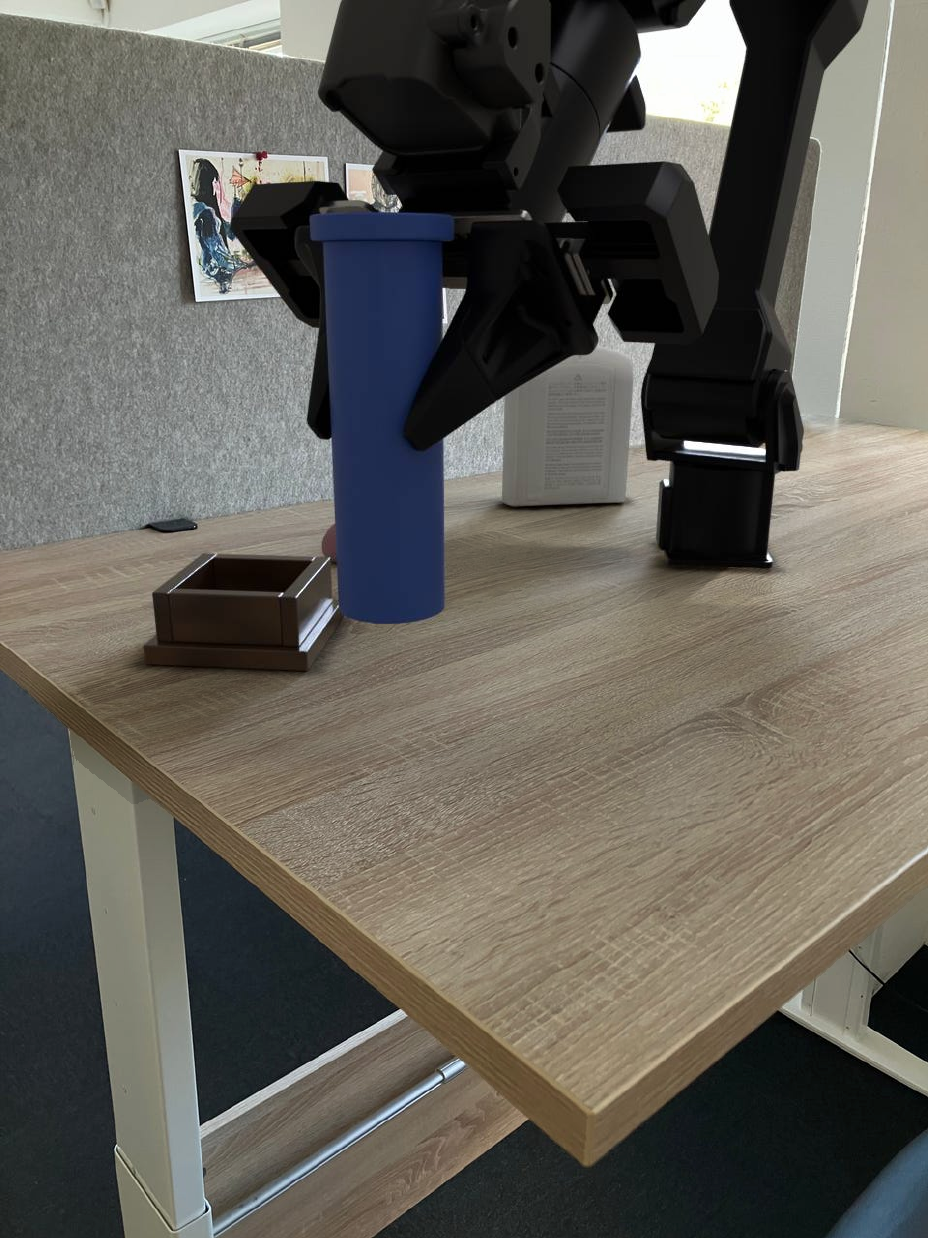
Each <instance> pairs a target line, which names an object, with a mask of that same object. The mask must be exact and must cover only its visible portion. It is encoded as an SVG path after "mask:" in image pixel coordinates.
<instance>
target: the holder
mask: <svg viewBox="0 0 928 1238" xmlns="http://www.w3.org/2000/svg"><path fill="white" fill-rule="evenodd" d="M331 563H332V561H331V560H330V557H325V556H308V555H307V556H303V555H302V556H301V555H271V554H240V553H239V554H237V553H236V554H235V553H203V552H202V554H200V555H199V556H198V557H196V558H195V559H193V561H191V562H190V563H188V564H187V565H186V566H185V567H183V568H182V569H181V570H179V571H178V572H177V573H176V574H174V575H173V576H172V577H170V578H169V579H168V580H166V581H165V582H164V583H163V584H161V585H160V586H159V587H157V588H156V589H155V590H154V591H152V592H151V596H152V597H151V598H152V607H153V615H154V616H153V617H154V624H155V635H153V636H152V637H151V638H150V639H149V640H148V641H147V642H146V643H144V644H143V647H142V648H143V657H144V664H145V665H154V666H177V667H179V666H180V667H200V668H201V667H204V668H227V669H251V670H252V669H253V670H274V671H275V670H276V671H278V670H279V671H300V672H301V671H302V672H307V671H309V669H310V668H311V666H312V665H313V663H314V662H315V660H316V659H317V657H319V654H320V653H321V652H322V650H323V649H324V647H325V645H326V644H327V642H328V641H329V640H330V638H331V636H332V635H333V633H334V632H335V630H336V629H337V627H338V626H339V624H340V623H341V622H342V620H343V619H344V617H345V616H344V615H343V614H342V613H341V612H340V610H339V602H338V598H336V599H335V598H333V585H332V583H333V582H332V564H331Z"/></svg>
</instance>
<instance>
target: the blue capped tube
mask: <svg viewBox="0 0 928 1238" xmlns="http://www.w3.org/2000/svg"><path fill="white" fill-rule="evenodd" d="M310 236H311V240H313V241H323V256H324V279H325V302H326V325H327V348H328V371H329V395H330V418H331V438H330V440H331V457H332V458H331V461H332V484H333V505H334V506H333V507H334V508H333V509H334V524H335V533H336V556H337V562H336V577H337V578H336V579H337V597H338V598H337V599H338V602H339V610H340V612H341V613H342V614H343V615H344V617H346V618H348V619H351V620H354V621H357V622H361V623H362V622H363V623H368V624H375V625H401V624H402V625H403V624H410V623H417V622H421V621H425V620H429V619H431V618H433V617H434V618H435V616H437V615H439V614H440V613H442V612H443V611H444V609H445V605H446V599H445V598H446V595H445V594H446V593H445V591H446V590H445V589H446V588H445V587H446V586H445V585H446V583H445V579H446V578H445V576H446V575H445V573H446V572H445V453H444V449H445V448H444V447H445V445H444V443H445V442H444V441H445V438H443V439H442V440H441V441H439V442H438V443H436V444H435V445H433V446H432V447H431V448H429V449H428V450H426V451H423V452H422V451H415V450H413V449H412V447H411V446H410V445H409V443H408V442H407V440H406V439H405V438H404V435H403V428H404V425H405V422H406V420H407V417H408V414H409V411H410V409H411V406H412V403H413V400H414V398H415V395H416V393H417V391H418V388H419V386H420V384H421V382H422V380H423V378H424V376H425V374H426V372H427V370H428V368H429V366H430V364H431V362H432V360H433V358H434V356H435V354H436V352H437V349H438V347H439V345H440V343H441V341H442V339H443V337H444V323H443V322H444V319H443V318H444V315H443V314H444V312H443V311H444V308H443V306H444V305H443V304H444V303H443V302H444V301H443V297H444V296H443V288H442V242H444V241H452V240H453V239H454V218H453V216H451V215H447V214H434V213H398V211H397V212H395V211H393V212H391V211H390V212H389V211H388V212H386V211H385V212H384V211H383V212H382V211H379V212H358V213H325V214H314V215H311V216H310Z"/></svg>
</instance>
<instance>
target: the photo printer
mask: <svg viewBox="0 0 928 1238" xmlns="http://www.w3.org/2000/svg"><path fill="white" fill-rule="evenodd" d="M633 392H634V367H633V363H632V359H631V356H629V355H627V354H625V353H623V352H620V351H618V350H615V349H611V348H608V347H604V346H599V345H597V346H596V348H595V350H594V351H593V352H592V353H591V354H589V355H574V356H571V357H569V358H567V359H565V360H564V361H562V362H560V363H559V364H557V365H555V366H554V367H552V368H550V369H548V370H547V371H545V372H543V373H542V374H540V375H538V376H537V377H535V378H533V379H531V380H530V381H528V382H526V383H525V384H523V385H521V386H520V387H518V388H516V389H515V390H513V391H511V392H510V393H508V394H507V395H505V396H504V398H503V399H504V400H503V401H504V405H503V406H504V407H503V412H504V413H503V442H502V443H503V444H502V475H501V476H502V477H501V478H502V479H501V480H502V481H501V501H502V503H504V505H507V506H509V507H514V508H515V507H517V508H518V507H535V506H560V505H561V506H562V505H563V506H565V505H585V504H589V505H590V504H621V503H624V502H625V500H626V496H627V488H628V487H627V483H628V470H629V469H628V467H629V452H630V439H631V424H632V423H631V422H632V411H633V410H632V409H633V407H632V406H633V396H634V395H633Z"/></svg>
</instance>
